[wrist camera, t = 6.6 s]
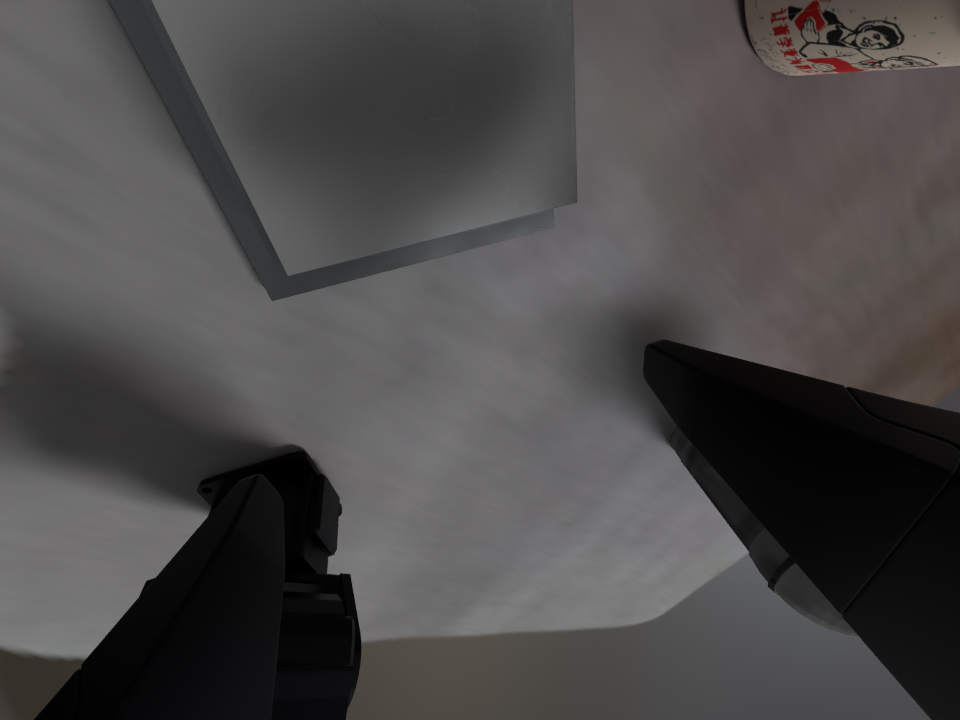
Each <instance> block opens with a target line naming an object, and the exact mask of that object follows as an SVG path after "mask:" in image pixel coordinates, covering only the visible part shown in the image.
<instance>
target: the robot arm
mask: <svg viewBox="0 0 960 720" xmlns="http://www.w3.org/2000/svg"><path fill="white" fill-rule="evenodd" d="M643 374H644V378H645V380H646V382H647V383H648V385H649V386H650V388H651V389H652V390H653V392H654V393H655V395H656V396H657V398H658V399H659V400H660V402H661V403H662V405H663V406H664V408H665V409H666V411H667V412H668V413H669V415H670V416H671V418H672V419H673V421H674V422H675V423H676V425H677V426H678V428H679V429H680V430H681V431H682V433H683V434H684V435H685V436H686V437H687V439H688V440H689V441H690V442H691V443H692V444H693V446H694V447H695V448H696V449H697V450H698V451H699V453H700V454H701V455H702V456H703V457H704V458H705V459H706V461H707V462H708V463H709V464H710V465H711V466H712V467H713V469H714V470H715V471H716V472H717V473H718V474H719V476H720V477H721V478H722V479H723V480H724V481H725V482H726V484H727V485H728V486H729V487H730V488H731V489H732V491H733V492H734V493H735V494H736V495H737V496H738V497H739V499H740V500H741V501H742V502H743V503H744V504H745V505H746V507H747V508H748V509H749V510H750V511H751V512H752V514H753V515H754V516H755V517H756V518H757V519H758V520H759V522H760V523H761V524H762V525H763V526H764V527H765V529H766V530H767V531H768V532H769V533H770V534H771V535H772V537H773V538H774V539H775V540H776V541H777V542H778V543H779V545H780V546H781V547H782V548H783V549H784V550H785V552H786V553H787V554H788V555H789V556H790V557H791V558H792V560H793V561H794V562H795V563H796V564H797V565H798V567H799V568H800V569H801V570H802V571H803V572H804V573H805V575H806V576H807V577H808V578H809V579H810V580H811V581H812V583H813V584H814V585H815V586H816V587H817V588H818V590H819V591H820V592H821V593H822V594H823V595H824V596H825V598H826V599H827V600H828V601H829V602H830V603H831V605H832V606H833V607H834V608H835V609H836V610H837V611H838V613H840V614H842V618H843V619H844V620H845V621H846V622H847V623H848V625H849V626H850V627H851V628H852V629H853V630H854V631H855V633H856V634H857V635H858V636H859V637H860V638H861V639H862V641H863V642H864V643H865V644H866V645H867V646H868V647H869V649H870V650H871V651H872V652H873V653H874V654H875V656H876V657H877V658H878V659H879V660H880V661H881V663H883V665H884V666H885V667H886V668H887V669H888V670H889V672H890V673H891V674H892V675H893V676H894V677H895V678H896V680H897V681H898V682H899V683H900V684H901V685H902V687H903V688H904V689H905V690H906V691H907V692H908V693H909V695H910V696H911V697H912V698H913V699H914V700H915V701H916V703H917V704H918V705H919V706H920V707H921V708H922V710H923V711H924V712H925V713H926V714H927V715H928V716H929V718H930V719H931V720H960V413H958V412H954V411H949V410H944V409H940V408H935V407H930V406H926V405H921V404H917V403H912V402H908V401H904V400H899V399H895V398H891V397H887V396H883V395H879V394H875V393H871V392H867V391H863V390H859V389H855V388H852V387H846V388H845V387H844V386H843V385H840V384H836V383H832V382H828V381H824V380H820V379H816V378H812V377H808V376H805V375H801V374H797V373H793V372H789V371H785V370H781V369H777V368H773V367H769V366H766V365H762V364H758V363H754V362H750V361H746V360H742V359H738V358H734V357H730V356H727V355H723V354H719V353H715V352H711V351H707V350H703V349H699V348H695V347H691V346H688V345H684V344H680V343H676V342H672V341H668V340H658V341H655V342H652V343H649V344H648V345H646V347H645V350H644V366H643ZM297 459H302V460H297ZM207 487H208V488H207ZM197 492H198V493H199V494H200V495H201V496H202V497H203V498H204V499H205V500H206V501H207V502H208V503H209V504H210V505H211V506H212V507H211V510H210V512H209V515H208V517H207V519H206V520H205V521H204V522H203V523H202V524H201V526H200V527H199V528H198V529H197V530H196V531H195V533H194V534H193V535H192V536H191V537H190V538H189V540H188V541H187V542H186V543H185V544H184V545H183V547H182V548H181V549H180V550H179V551H178V552H177V554H176V555H175V556H174V557H173V558H172V559H171V561H170V562H169V563H168V564H167V565H166V566H165V568H164V569H163V570H162V571H161V572H160V573H159V575H158V576H157V577H156V578H154V579H151V580H148V581H146V583H145V585H144V587H143V589H142V592H141V594H140V596H139V598H138V599H137V600H136V601H135V603H134V604H133V605H132V606H131V607H130V608H129V610H128V611H127V612H126V613H125V614H124V615H123V617H122V618H121V619H120V620H119V621H118V622H117V624H116V625H115V626H114V627H113V628H112V629H111V631H110V632H109V633H108V634H107V635H106V636H105V638H104V639H103V640H102V641H101V642H100V643H99V645H98V646H97V647H96V648H95V649H94V650H93V652H92V653H91V654H90V655H89V656H88V657H87V659H86V660H85V661H84V662H83V663H82V666H81V669H78V670H76V671H75V672H74V674H73V675H72V676H71V677H70V678H69V680H68V681H67V682H66V683H65V684H64V685H63V687H62V688H61V689H60V690H59V692H58V693H57V694H56V695H55V696H54V697H53V698H52V700H51V701H50V702H49V703H48V704H47V705H46V706H45V708H44V709H43V710H42V711H41V712H40V713H39V714H38V715H37V717H36V718H35V719H34V720H346V713H347V708H348V707H349V704H350V702H351V700H352V697H353V694H354V691H355V688H356V684H357V680H358V675H359V669H360V660H361V635H360V628H359V622H358V617H357V611H356V605H355V599H354V593H353V587H352V582H351V576H350V574H343V573H340V575H334V574H327V567H328V557H329V556H332V555H334V554H335V552H336V550H337V535H338V517H339V516H340V515H341V514H342V506H341V504H340V503H339V496H338V494H337V493H336V491H335V490H334V488H333V487H332V485H331V484H330V482H329V480H328V479H327V477H326V476H325V475H323V474H321V473H320V472H319V470H318V469H317V467H316V466H315V464H314V463H313V461H312V459H311V458H310V456H309V455H308V454H307V453H306V452H302V451H299V452H294V453H291V454H288V455H285V456H281V457H278V458H275V459H271V460H268V461H265V462H261V463H258V464H255V465H252V466H248V467H245V468H242V469H238V470H235V471H232V472H229V473H225V474H222V475H219V476H215V477H212V478H209V479H206V480H203V481H201V482H200V484H199V486H198V488H197Z"/></svg>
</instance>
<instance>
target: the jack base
mask: <svg viewBox="0 0 960 720" xmlns="http://www.w3.org/2000/svg"><path fill="white" fill-rule="evenodd" d="M109 2H110V4H111V5H112V7H113V9H114V11H115V13H116V15H117V16H118V18H119V20H120V22H121V24H122V26H123V27H124V29H125V31H126V33H127V35H128V37H129V39H130V40H131V42H132V44H133V46H134V48H135V50H136V51H137V53H138V55H139V57H140V59H141V61H142V62H143V64H144V66H145V68H146V70H147V72H148V74H149V75H150V77H151V79H152V81H153V83H154V85H155V86H156V88H157V90H158V92H159V94H160V96H161V97H162V99H163V101H164V103H165V105H166V107H167V109H168V110H169V112H170V114H171V116H172V118H173V120H174V121H175V123H176V125H177V127H178V129H179V131H180V132H181V134H182V136H183V138H184V140H185V142H186V144H187V145H188V147H189V149H190V151H191V153H192V155H193V156H194V158H195V160H196V162H197V164H198V166H199V167H200V169H201V171H202V173H203V175H204V177H205V178H206V180H207V182H208V184H209V186H210V188H211V190H212V191H213V193H214V195H215V197H216V199H217V201H218V202H219V204H220V206H221V208H222V210H223V212H224V213H225V215H226V217H227V219H228V221H229V223H230V225H231V226H232V228H233V230H234V232H235V234H236V236H237V237H238V239H239V241H240V243H241V245H242V247H243V248H244V250H245V252H246V254H247V256H248V258H249V260H250V261H251V263H252V265H253V267H254V269H255V271H256V272H257V274H258V276H259V278H260V280H261V282H262V283H263V285H264V287H265V289H266V291H267V293H268V295H269V296H270V298H271V300H272V301H274V300H278V299H282V298H286V297H289V296H293V295H297V294H301V293H305V292H309V291H312V290H316V289H320V288H324V287H328V286H332V285H335V284H339V283H343V282H347V281H351V280H355V279H358V278H362V277H366V276H370V275H374V274H378V273H381V272H385V271H389V270H393V269H397V268H401V267H404V266H408V265H412V264H416V263H420V262H424V261H427V260H431V259H435V258H439V257H443V256H447V255H450V254H454V253H458V252H462V251H466V250H470V249H473V248H477V247H481V246H485V245H489V244H492V243H496V242H500V241H504V240H508V239H512V238H515V237H519V236H523V235H527V234H531V233H535V232H538V231H542V230H546V229H550V228H554V215H553V209H549V210H545V211H541V212H537V213H533V214H529V215H526V216H522V217H518V218H514V219H510V220H506V221H502V222H498V223H494V224H490V225H486V226H482V227H479V228H475V229H471V230H467V231H463V232H459V233H455V234H451V235H447V236H443V237H439V238H435V239H432V240H428V241H424V242H420V243H416V244H412V245H408V246H404V247H400V248H396V249H392V250H389V251H385V252H381V253H377V254H373V255H369V256H365V257H361V258H357V259H353V260H349V261H345V262H342V263H338V264H334V265H330V266H326V267H322V268H318V269H314V270H310V271H306V272H302V273H298V274H295V275H291V276H288V275H287V273H286V271H285V269H284V267H283V265H282V263H281V261H280V259H279V257H278V255H277V253H276V251H275V249H274V247H273V245H272V243H271V241H270V239H269V237H268V235H267V233H266V231H265V229H264V227H263V225H262V223H261V220H260V218H259V216H258V214H257V212H256V210H255V208H254V206H253V204H252V202H251V200H250V198H249V196H248V194H247V192H246V190H245V188H244V186H243V184H242V182H241V180H240V178H239V176H238V174H237V172H236V170H235V168H234V166H233V164H232V162H231V160H230V158H229V156H228V154H227V152H226V150H225V148H224V146H223V144H222V142H221V140H220V138H219V136H218V134H217V132H216V130H215V128H214V126H213V124H212V122H211V119H210V117H209V115H208V113H207V111H206V109H205V107H204V105H203V103H202V101H201V99H200V97H199V95H198V93H197V91H196V89H195V87H194V85H193V83H192V81H191V79H190V77H189V75H188V73H187V71H186V69H185V67H184V65H183V63H182V61H181V59H180V57H179V55H178V53H177V51H176V49H175V47H174V45H173V43H172V41H171V39H170V37H169V35H168V33H167V31H166V29H165V27H164V25H163V23H162V21H161V19H160V16H159V14H158V12H157V10H156V8H155V6H154V4H153V2H152V0H109Z"/></svg>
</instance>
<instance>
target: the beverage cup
mask: <svg viewBox="0 0 960 720" xmlns="http://www.w3.org/2000/svg"><path fill="white" fill-rule="evenodd" d="M670 443H671V447H672V448H673V449H674V450H675V451H676V454H677V455H678V456H679V458H680V459H681V462H682V463H683V464H684V466H685V467H686V468H687V470H688V471H689V472H690V474H691V475H692V476H693V478H694V479H695V480H696V482H697V483H698V484H699V486H700V487H701V488H702V490H703V491H704V492H705V494H706V495H707V496H708V498H709V499H710V500H711V502H712V503H713V504H714V506H715V507H716V508H717V510H718V511H719V512H720V514H721V515H722V516H723V518H724V519H725V520H726V522H727V523H728V524H729V526H730V527H731V528H732V530H733V531H734V532H735V534H736V535H737V536H738V538H739V539H740V540H741V542H742V543H743V544H744V546H745V547H746V548H747V550H748V551H749V555H750V557H751V558H752V560H753V562H754V563H755V565H756V567H757V568H758V570H759V572H760V573H761V574H762V575H763V577H764V578H765V579H766V580H767V581H768V587H769V588H770V589H771V590H772V591H774V592H775V593H776V594H777V595H779V596H780V597H781V598H782V599H783V600H784V601H785V602H786V603H787V604H788V605H789V606H791V607H792V608H793V609H794V610H795V611H796V612H798V613H799V614H801V615H802V616H803V617H805V618H806V619H808V620H809V621H811V622H813V623H815V624H817V625H818V626H820V627H822V628H825V629H827V630H830V631H832V632H835V633H838V634H842V635H846V636H851V637H858V638H860V637H859V636H858V635H857V634H856V633H855V631H854V630H853V629H852V628H851V627H850V626H849V625H848V623H847V622H846V621H845V620H844V619H843V618H842V614H840V613H838V611H837V610H836V609H835V608H834V607H833V606H832V605H831V603H830V602H829V601H828V600H827V599H826V598H825V596H824V595H823V594H822V593H821V592H820V591H819V590H818V588H817V587H816V586H815V585H814V584H813V583H812V581H811V580H810V579H809V578H808V577H807V576H806V575H805V573H804V572H803V571H802V570H801V569H800V568H799V567H798V565H797V564H796V563H795V562H794V561H793V560H792V558H791V557H790V556H789V555H788V554H787V553H786V552H785V550H784V549H783V548H782V547H781V546H780V545H779V543H778V542H777V541H776V540H775V539H774V538H773V537H772V535H771V534H770V533H769V532H768V531H767V530H766V529H765V527H764V526H763V525H762V524H761V523H760V522H759V520H758V519H757V518H756V517H755V516H754V515H753V514H752V512H751V511H750V510H749V509H748V508H747V507H746V505H745V504H744V503H743V502H742V501H741V500H740V499H739V497H738V496H737V495H736V494H735V493H734V492H733V491H732V489H731V488H730V487H729V486H728V485H727V484H726V482H725V481H724V480H723V479H722V478H721V477H720V476H719V474H718V473H717V472H716V471H715V470H714V469H713V467H712V466H711V465H710V464H709V463H708V462H707V461H706V459H705V458H704V457H703V456H702V455H701V454H700V453H699V451H698V450H697V449H696V448H695V447H694V446H693V444H692V443H691V442H690V441H689V440H688V439H687V437H686V436H685V435H684V434H683V433H682V431H681V430H680V429H679V428H677V429H676V430H675V432H674V433H673V435H672V438H671V441H670Z"/></svg>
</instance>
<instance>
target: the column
mask: <svg viewBox="0 0 960 720" xmlns="http://www.w3.org/2000/svg"><path fill="white" fill-rule="evenodd" d="M152 2H153V4H154V6H155V8H156V10H157V12H158V14H159V16H160V19H161V21H162V23H163V25H164V27H165V29H166V31H167V33H168V35H169V37H170V39H171V41H172V43H173V45H174V47H175V49H176V51H177V53H178V55H179V57H180V59H181V61H182V63H183V65H184V67H185V69H186V71H187V73H188V75H189V77H190V79H191V81H192V83H193V85H194V87H195V89H196V91H197V93H198V95H199V97H200V99H201V101H202V103H203V105H204V107H205V109H206V111H207V113H208V115H209V117H210V119H211V122H212V124H213V126H214V128H215V130H216V132H217V134H218V136H219V138H220V140H221V142H222V144H223V146H224V148H225V150H226V152H227V154H228V156H229V158H230V160H231V162H232V164H233V166H234V168H235V170H236V172H237V174H238V176H239V178H240V180H241V182H242V184H243V186H244V188H245V190H246V192H247V194H248V196H249V198H250V200H251V202H252V204H253V206H254V208H255V210H256V212H257V214H258V216H259V218H260V220H261V223H262V225H263V227H264V229H265V231H266V233H267V235H268V237H269V239H270V241H271V243H272V245H273V247H274V249H275V251H276V253H277V255H278V257H279V259H280V261H281V263H282V265H283V267H284V269H285V271H286V273H287V275H288V276H291V275H295V274H298V273H302V272H306V271H310V270H314V269H318V268H322V267H326V266H330V265H334V264H338V263H342V262H345V261H349V260H353V259H357V258H361V257H365V256H369V255H373V254H377V253H381V252H385V251H389V250H392V249H396V248H400V247H404V246H408V245H412V244H416V243H420V242H424V241H428V240H432V239H435V238H439V237H443V236H447V235H451V234H455V233H459V232H463V231H467V230H471V229H475V228H479V227H482V226H486V225H490V224H494V223H498V222H502V221H506V220H510V219H514V218H518V217H522V216H526V215H529V214H533V213H537V212H541V211H545V210H549V209H553V208H557V207H561V206H565V205H569V204H573V203H576V202H577V167H576V123H575V79H574V36H573V0H152Z"/></svg>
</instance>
